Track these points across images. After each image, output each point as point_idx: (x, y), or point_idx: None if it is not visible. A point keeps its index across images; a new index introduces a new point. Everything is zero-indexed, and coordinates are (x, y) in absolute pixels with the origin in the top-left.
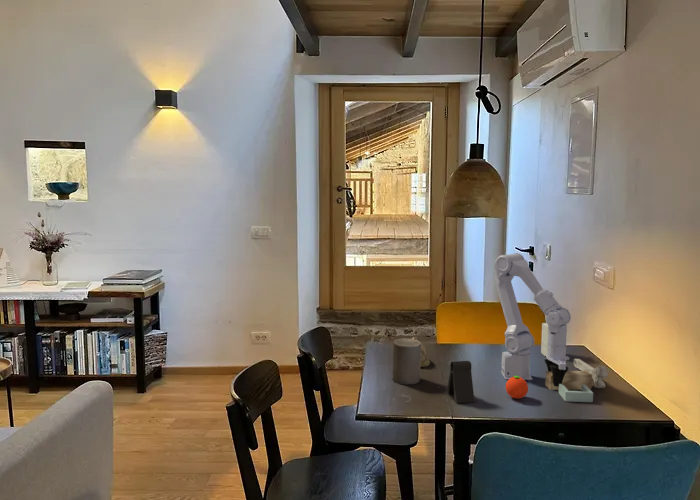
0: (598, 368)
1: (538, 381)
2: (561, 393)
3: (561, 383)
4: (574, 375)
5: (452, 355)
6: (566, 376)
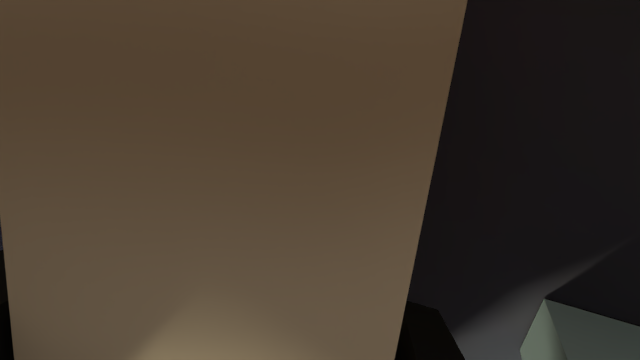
0: None
1: None
2: None
3: (458, 349)
4: (462, 3)
5: None
6: (408, 285)
